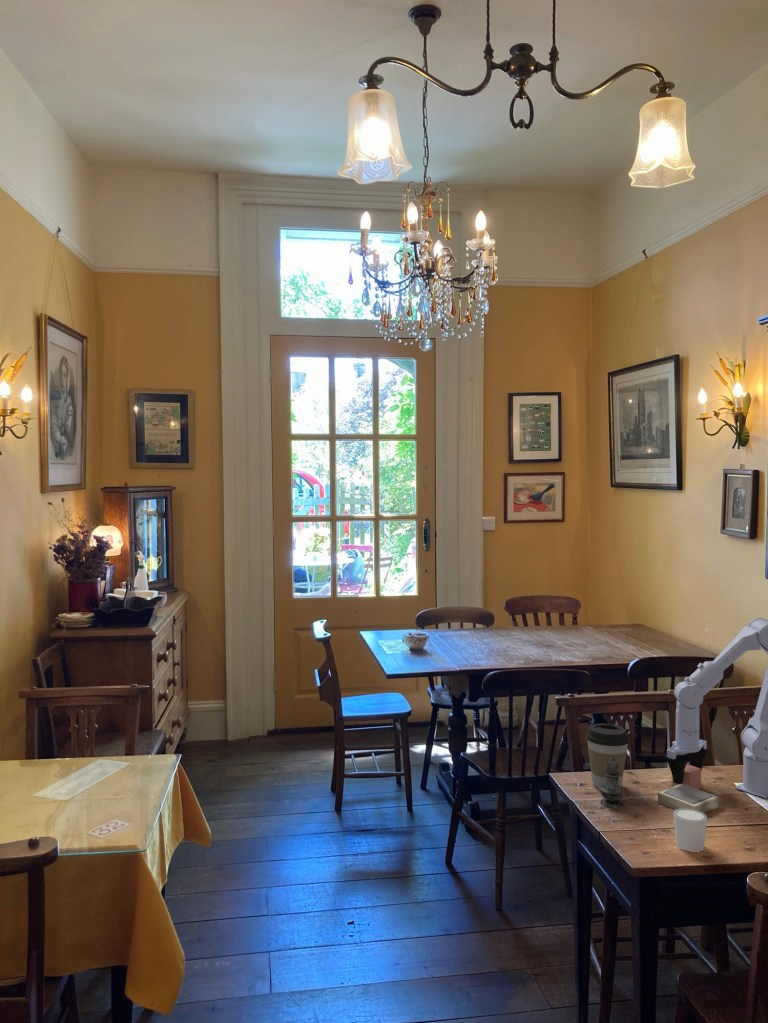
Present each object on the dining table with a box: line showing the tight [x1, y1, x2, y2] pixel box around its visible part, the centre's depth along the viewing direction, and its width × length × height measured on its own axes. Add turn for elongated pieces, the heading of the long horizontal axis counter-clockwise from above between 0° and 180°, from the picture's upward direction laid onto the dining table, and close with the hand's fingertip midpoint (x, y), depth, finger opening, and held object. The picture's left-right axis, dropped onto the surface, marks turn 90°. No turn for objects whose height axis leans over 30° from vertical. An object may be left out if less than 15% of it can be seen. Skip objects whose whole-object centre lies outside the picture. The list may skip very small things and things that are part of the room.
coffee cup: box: [584, 723, 631, 790], centre depth 195 cm, size 11×11×15 cm
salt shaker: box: [599, 755, 625, 809], centre depth 184 cm, size 6×6×12 cm
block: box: [671, 763, 702, 789], centre depth 195 cm, size 5×5×5 cm
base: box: [657, 784, 720, 814], centre depth 183 cm, size 10×10×3 cm
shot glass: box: [673, 809, 708, 853], centre depth 162 cm, size 7×7×7 cm
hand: (686, 780), depth 195 cm, fingers open, 7 cm apart
